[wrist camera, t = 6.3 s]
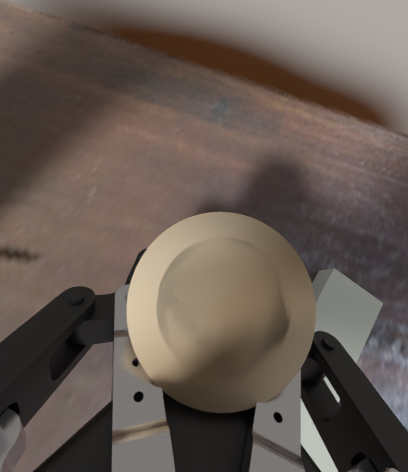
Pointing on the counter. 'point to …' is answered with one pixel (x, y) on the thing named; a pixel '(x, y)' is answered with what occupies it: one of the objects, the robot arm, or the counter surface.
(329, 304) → the notched board
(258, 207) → the counter surface
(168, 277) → the bobbin
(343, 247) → the counter surface
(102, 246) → the counter surface
